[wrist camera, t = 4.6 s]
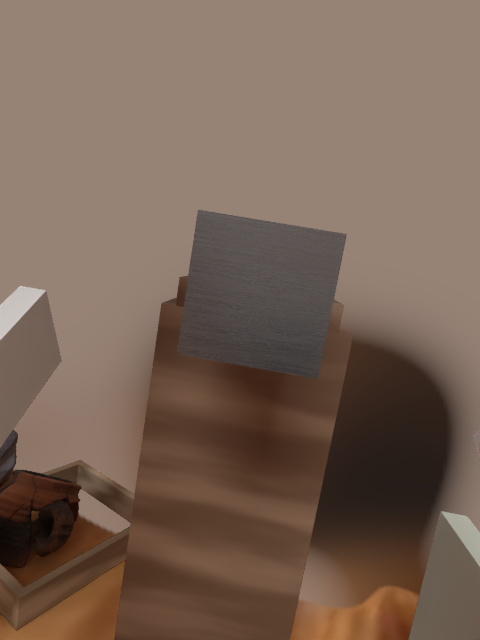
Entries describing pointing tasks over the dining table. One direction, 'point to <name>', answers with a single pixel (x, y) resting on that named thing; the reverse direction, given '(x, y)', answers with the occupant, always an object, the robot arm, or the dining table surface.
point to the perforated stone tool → (8, 456)
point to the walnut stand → (226, 491)
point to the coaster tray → (67, 579)
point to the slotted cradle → (450, 584)
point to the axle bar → (260, 293)
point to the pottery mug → (54, 515)
